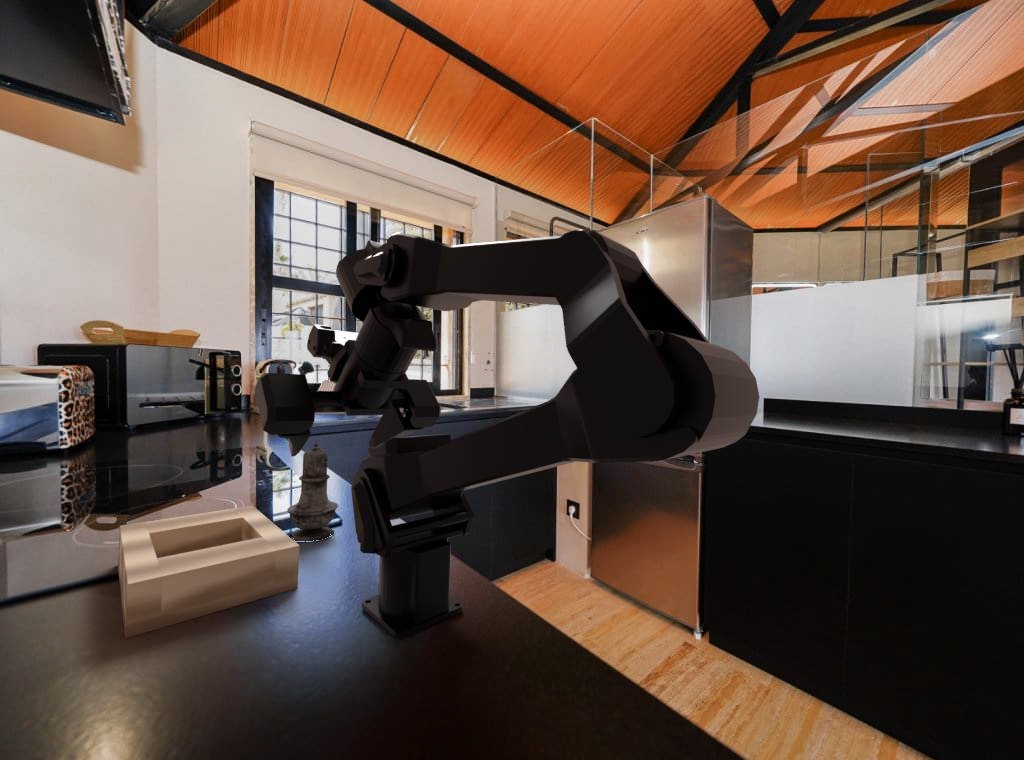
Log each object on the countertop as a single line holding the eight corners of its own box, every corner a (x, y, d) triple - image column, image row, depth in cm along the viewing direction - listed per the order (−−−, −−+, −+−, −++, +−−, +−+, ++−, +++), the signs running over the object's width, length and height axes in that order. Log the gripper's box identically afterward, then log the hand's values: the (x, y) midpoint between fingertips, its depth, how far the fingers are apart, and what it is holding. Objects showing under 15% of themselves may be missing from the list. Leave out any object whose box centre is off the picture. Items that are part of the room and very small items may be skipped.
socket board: (297, 587, 40) (299, 545, 40) (125, 638, 31) (128, 584, 31) (251, 538, 52) (252, 505, 52) (117, 564, 43) (119, 525, 43)
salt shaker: (317, 546, 50) (321, 445, 50) (274, 540, 51) (279, 442, 51) (346, 530, 56) (350, 439, 56) (307, 525, 57) (311, 437, 57)
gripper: (431, 316, 53) (385, 399, 60) (264, 287, 39) (232, 399, 47) (468, 379, 47) (412, 462, 54) (287, 370, 34) (246, 482, 41)
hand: (334, 449), depth 49 cm, fingers open, 9 cm apart
